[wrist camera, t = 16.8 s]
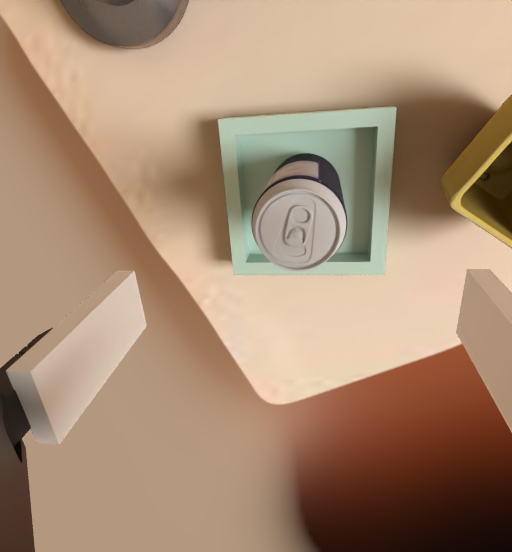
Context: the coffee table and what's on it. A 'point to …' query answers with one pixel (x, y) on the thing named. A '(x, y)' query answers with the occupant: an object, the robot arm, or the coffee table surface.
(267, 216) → the beverage can
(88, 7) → the crank base
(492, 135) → the flower pot
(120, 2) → the crank
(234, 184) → the tray
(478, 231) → the coffee table surface
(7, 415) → the robot arm
